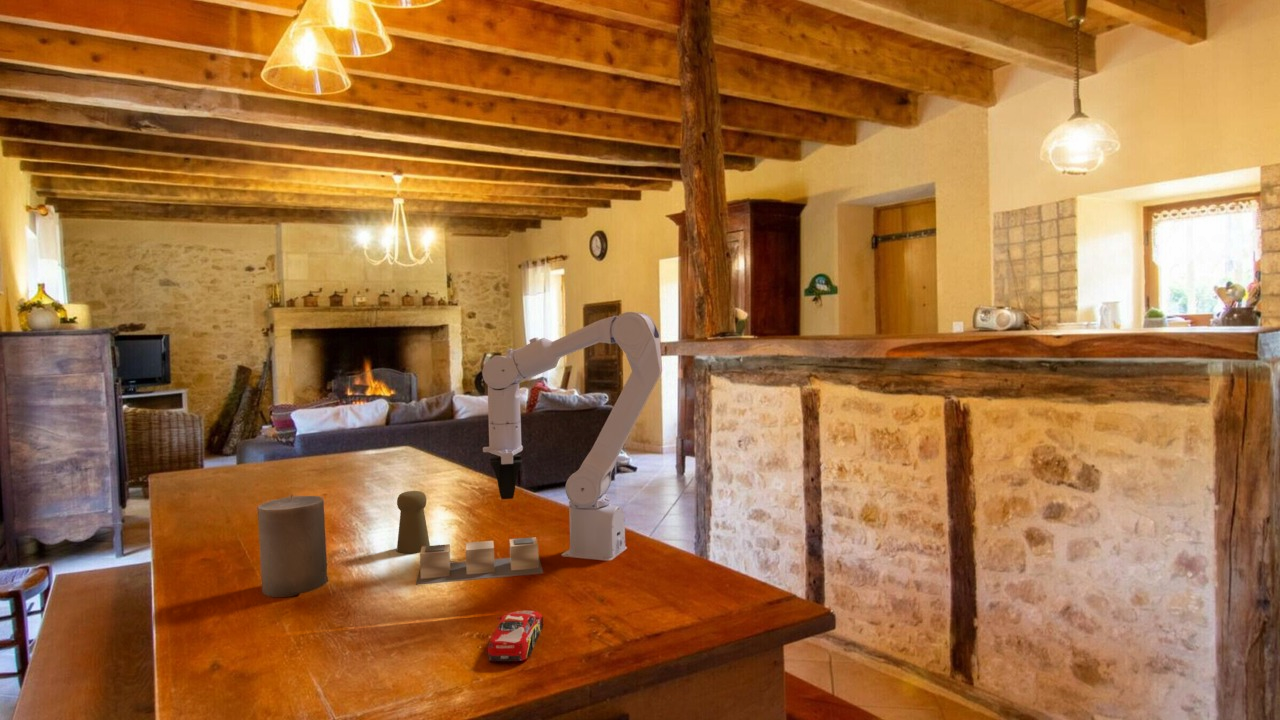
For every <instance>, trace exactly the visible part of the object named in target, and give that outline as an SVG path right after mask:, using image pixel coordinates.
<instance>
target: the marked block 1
mask: <svg viewBox="0 0 1280 720" xmlns="http://www.w3.org/2000/svg"><path fill="white" fill-rule="evenodd" d="M450 563H451V546H450V544H438V545H435V544H434V545H430V546H422V548H421V552H420V553H419V565H420V566H419V570H420V572H421V579H423V578H435V577H446V576H450Z"/></svg>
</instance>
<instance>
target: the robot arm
mask: <svg viewBox="0 0 1280 720" xmlns="http://www.w3.org/2000/svg"><path fill="white" fill-rule="evenodd" d="M599 343H603V344H608V345H609V344H617V345H618V347H619V348H620V349H621V351H622V352H623V353H624V354H625V356H626V358H627V361H628V365H629V367H630V369H631V373H630V375H629V376H628V378H627V380H626V383H625V384H624V387H623V388H622V389H621V392H620V393H619V394H620V395H619V396H618V398H617V399H616V402H615V404H614V405H613V407H612V409H611V412H610V413H609V415H608V417H607V419H606V421H605V423H604V425H603V427H602V428H601V431H600V432H599V434H598V436H597V438H596V440H595V442H594V444H593V446H592V448H591V449H590V451H589V452H588V454H587V456H586V457H585V458H584V460H583V462H582V463H581V465H580V467H579V469H577V471H575V472H574V473H572V474H570V476H569V477H568V478H567V481H566V483H565V488H564V489H565V490H564V491H565V495H566V497H567V499H568V500H569V501H568V507H569V508H568V509H569V513H568V514H569V517H568V518H569V549H568V550H566V551H564V552H563V553H561V554H560V555H561V557H563V558H564V557H565V558H576V559H585V560H595V561H596V560H597V561H605V562H606V561H607V562H610V561H612V560H614V559H615V558H617V557H618V556H619V555H620V554H622V553H623V552H624V551H625V550H627V549H628V547H627V546H626V527H625V526H626V523H625V521H626V520H625V519H626V518H625V512H624V509H623V507H621V506H618V505H614V504H611V503H610V501H611V500H610V498H609V496H608V494H607V493H606V492H607V491H608V490H609V489H610V488H611V484H612V472H613V469H614V468H615V466H616V463H617V459H618V457H619V456H620V454H621V452H622V450H623V447H624V446H625V444H626V442H627V440H628V438H629V436H630V434H631V432H632V430H633V429H634V426H635V425H636V423H637V421H638V419H639V417H640V415H641V413H642V411H643V409H644V407H645V405H646V404H647V402H648V399H650V398H649V397H650V396H651V394H652V392H653V390H654V388H655V386H656V384H657V383H658V381H659V378H660V377H661V375H662V372H663V363H662V362H663V361H662V353H661V352H662V351H661V333H660V332H659V329H658V327H657V325H656V323H655V321H654V320H653V318H652V317H651V316H650V315H648V314H646V313H644V312H635V311H626V312H623V313H621V314H620V315H613V316H609V317H606V318H602V319H599V320H597V321H595V322H594V321H593V322H592V323H590V324H588V325H586V326H584V327H582V328H579V329H577V330H575V331H573V332H571V333H568V334H567V335H564V336H562V337H560V338H558V339H556V340H554V341H552V340H549V339H548V338H545V337H541V338H540V339H539V337H533V338H531V339H529V343H527V344H524V345H522V346H521V347H518V348H515V349H513V348H509V349H506V351H505V352H506V355H503V356H502V355H494V356H492V358H489V359H488V360H486V362H485V363H484V365H483V367H482V371H481V374H482V379H483V380H484V383H485V384H486V385H487V411H488V412H487V413H488V445H489V446H483V447H482V452H483V453H488V454H489V453H490V454H492V455H496V456H492V457H489V465H490V466H491V467H492V469H493V471H494V474H495V478H496V481H497V486H498V491H499V494H500V495H499V496H500V499H501V500H509V499H510V500H513V499H514V495H515V490H516V484H517V478H518V474H519V471H520V468H521V467H522V464H523V460H522V455H521V454H519V453H521V452H522V451H523V449H524V446H523V445H522V423H521V422H522V420H521V419H522V417H521V394H520V383H521V382H522V381H526V380H529V379H531V378H533V377H536V376H539V375H541V374H544V373H546V372H548V371H551V370H552V369H555V368H557V365H558V364H559V362H560V359H561V358H562V357H566V356H567V355H570V354H573V353H576V352H577V351H582V350H584V349H586V348H588V347H591V346H594V345H596V344H599Z"/></svg>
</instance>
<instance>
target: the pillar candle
mask: <svg viewBox="0 0 1280 720" xmlns="http://www.w3.org/2000/svg"><path fill="white" fill-rule="evenodd" d="M324 503H325V502H324V498H323V497H321V496H318V495H317V496H316V495H298V496H293V493H292V494H290V496H288V497H282V498H278V499H277V498H276V499H272V500H269V501H265V502H263V503H260V504H259V505H257V518H258V520H257V521H258V522H257V523H258V536H259V537H258V539H259V540H258V541H259V556H260V557H259V558H260V559H259V560H260V575H261V590H262V594H263V595H264V596H266V597H270V598H271V597H272V598H284V597H285V598H286V597H295V596H298V595H300V594H304V593H308V592H312V591H315V590H317V589H319V588H321V587H323V586H324V585H326V583H328V582H329V577H328V563H327V559H328V558H327V544H326V541H327V540H326V539H327V538H326V526H325V525H326V523H325V521H326V520H325V519H326V518H325V517H326V516H325V505H324Z"/></svg>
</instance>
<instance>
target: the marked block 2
mask: <svg viewBox="0 0 1280 720" xmlns="http://www.w3.org/2000/svg"><path fill="white" fill-rule="evenodd" d="M538 555H539V544H538V540H537V537H536V536H535V537H521V538H509V558H510V565H511V570H523V569H534V568H539V560H538Z"/></svg>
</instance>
